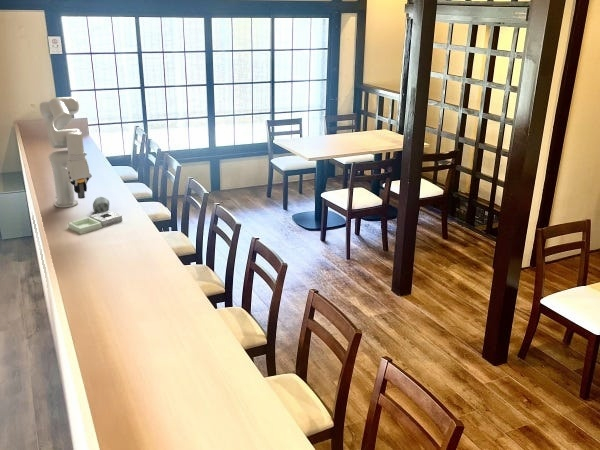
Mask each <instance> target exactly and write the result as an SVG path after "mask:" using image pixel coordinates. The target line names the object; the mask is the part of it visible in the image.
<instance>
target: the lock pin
mask: <svg viewBox="0 0 600 450" xmlns="http://www.w3.org/2000/svg"><path fill="white" fill-rule="evenodd" d="M83 182H84V178H83V179H79V180H77V185H78V186H79V193H77V199H85V198H86V194H85V193H86V192H85V191H84V183H83Z"/></svg>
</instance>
